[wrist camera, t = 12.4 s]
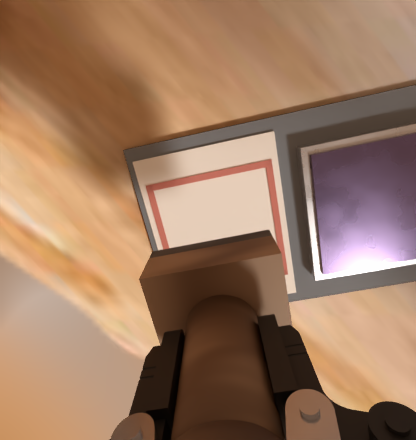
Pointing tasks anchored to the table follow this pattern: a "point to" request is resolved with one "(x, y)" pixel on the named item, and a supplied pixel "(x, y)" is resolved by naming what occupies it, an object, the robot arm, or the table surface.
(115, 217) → the table surface
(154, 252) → the stamp
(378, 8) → the table surface
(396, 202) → the ink pad
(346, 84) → the table surface
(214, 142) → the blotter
